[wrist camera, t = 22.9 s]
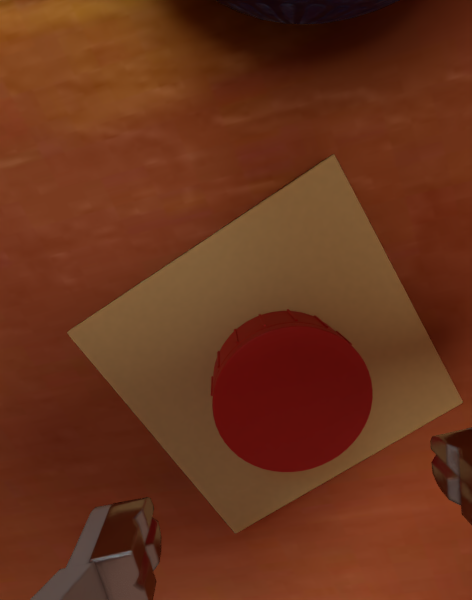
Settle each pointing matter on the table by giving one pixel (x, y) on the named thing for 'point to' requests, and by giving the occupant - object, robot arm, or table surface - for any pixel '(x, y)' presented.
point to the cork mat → (260, 300)
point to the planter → (305, 9)
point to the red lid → (289, 392)
